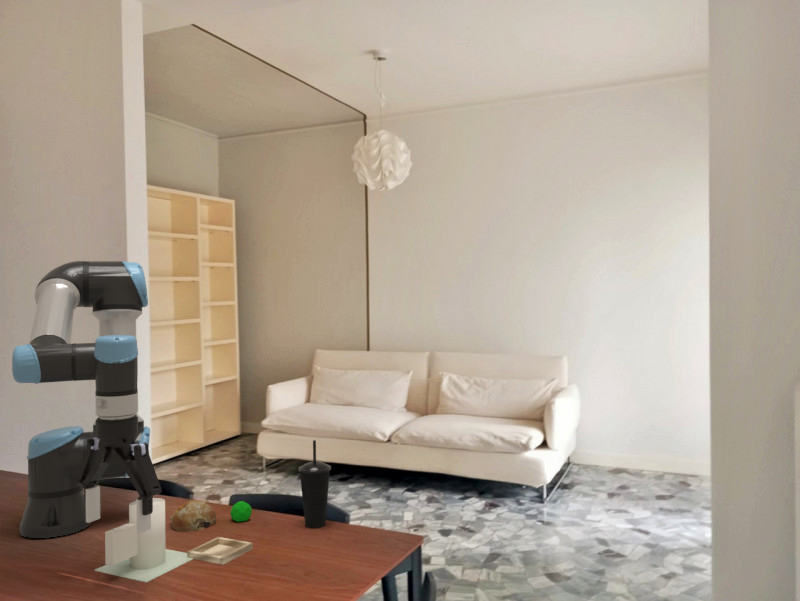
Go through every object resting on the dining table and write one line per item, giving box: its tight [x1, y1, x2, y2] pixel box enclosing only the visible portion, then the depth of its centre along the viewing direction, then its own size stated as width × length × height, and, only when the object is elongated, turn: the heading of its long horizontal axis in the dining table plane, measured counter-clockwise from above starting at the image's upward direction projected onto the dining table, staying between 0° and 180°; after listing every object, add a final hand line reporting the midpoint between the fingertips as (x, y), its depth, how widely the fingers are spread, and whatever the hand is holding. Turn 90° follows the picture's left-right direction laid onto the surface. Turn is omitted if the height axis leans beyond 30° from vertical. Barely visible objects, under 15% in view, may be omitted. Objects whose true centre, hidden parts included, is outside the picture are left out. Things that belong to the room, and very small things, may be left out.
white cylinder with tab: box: [104, 497, 167, 569], centre depth 127 cm, size 13×7×12 cm, turn 155°
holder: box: [186, 536, 254, 566], centre depth 135 cm, size 9×9×2 cm
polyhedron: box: [230, 500, 253, 523], centre depth 156 cm, size 5×5×5 cm
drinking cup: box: [298, 440, 332, 529], centre depth 153 cm, size 8×8×20 cm
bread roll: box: [169, 499, 217, 532], centre depth 153 cm, size 10×10×8 cm
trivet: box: [93, 548, 195, 583], centre depth 130 cm, size 14×14×1 cm
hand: (117, 525), depth 124 cm, fingers open, 13 cm apart
